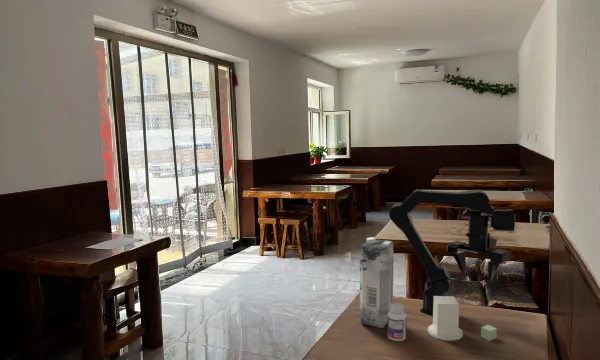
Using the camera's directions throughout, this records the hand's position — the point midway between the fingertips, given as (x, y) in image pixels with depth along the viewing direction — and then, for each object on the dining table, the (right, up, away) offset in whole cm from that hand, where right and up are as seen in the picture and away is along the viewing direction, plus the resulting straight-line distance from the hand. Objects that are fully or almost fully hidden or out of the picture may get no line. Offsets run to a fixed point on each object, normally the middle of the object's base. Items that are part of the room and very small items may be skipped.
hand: (476, 277), depth 146 cm
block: (-2, -15, -13) cm, 20 cm away
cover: (-13, -14, -10) cm, 22 cm away
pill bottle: (-28, -15, -12) cm, 34 cm away
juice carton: (-33, -14, -2) cm, 36 cm away
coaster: (-13, -15, -10) cm, 22 cm away
